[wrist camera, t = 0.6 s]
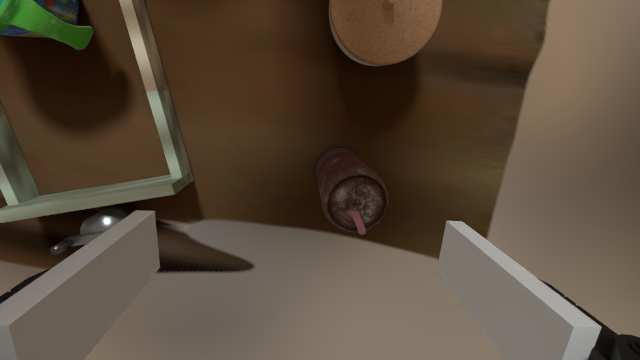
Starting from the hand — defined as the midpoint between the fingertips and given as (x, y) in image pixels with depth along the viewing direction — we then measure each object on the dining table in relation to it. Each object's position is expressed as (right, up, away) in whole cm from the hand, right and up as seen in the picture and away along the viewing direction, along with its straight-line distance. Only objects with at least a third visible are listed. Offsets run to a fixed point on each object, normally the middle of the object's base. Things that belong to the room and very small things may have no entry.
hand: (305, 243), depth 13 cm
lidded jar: (+6, +21, +22) cm, 31 cm away
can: (+3, +4, +26) cm, 27 cm away
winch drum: (-25, -2, +26) cm, 36 cm away
